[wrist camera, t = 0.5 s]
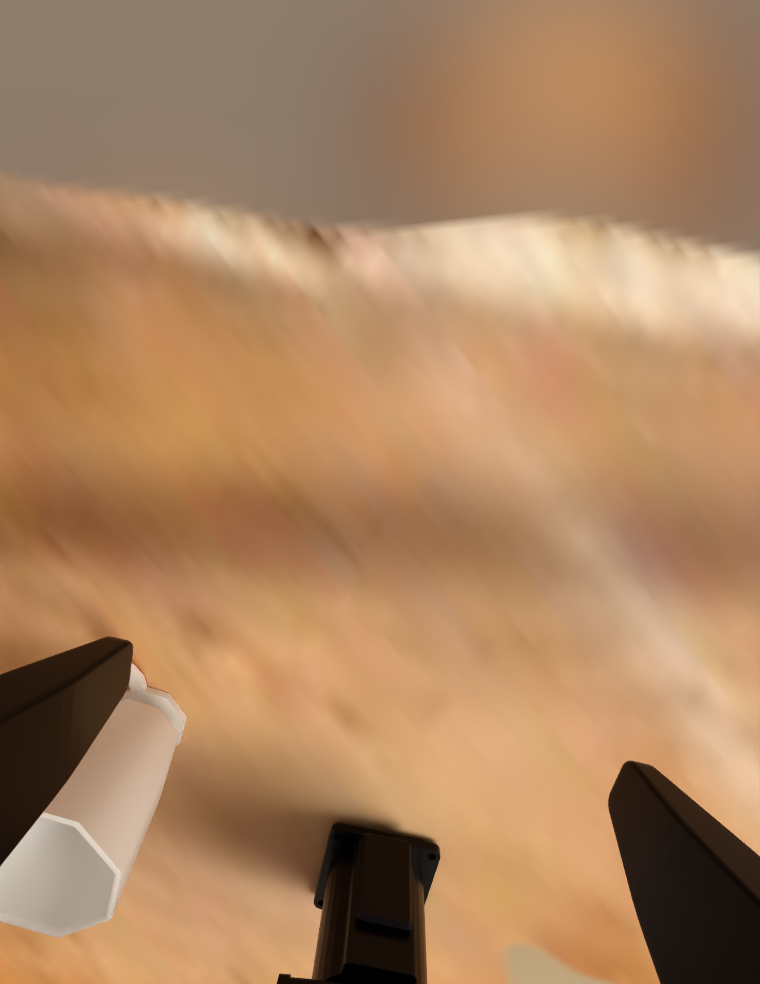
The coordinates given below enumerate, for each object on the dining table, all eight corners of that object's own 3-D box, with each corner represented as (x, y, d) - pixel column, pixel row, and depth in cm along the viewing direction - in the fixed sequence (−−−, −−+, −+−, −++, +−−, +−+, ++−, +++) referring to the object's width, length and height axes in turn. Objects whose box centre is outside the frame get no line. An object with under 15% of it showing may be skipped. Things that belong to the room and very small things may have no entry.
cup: (104, 770, 26) (-23, 939, 18) (58, 617, 23) (-113, 739, 16) (221, 766, 26) (140, 940, 18) (186, 611, 23) (75, 733, 15)
